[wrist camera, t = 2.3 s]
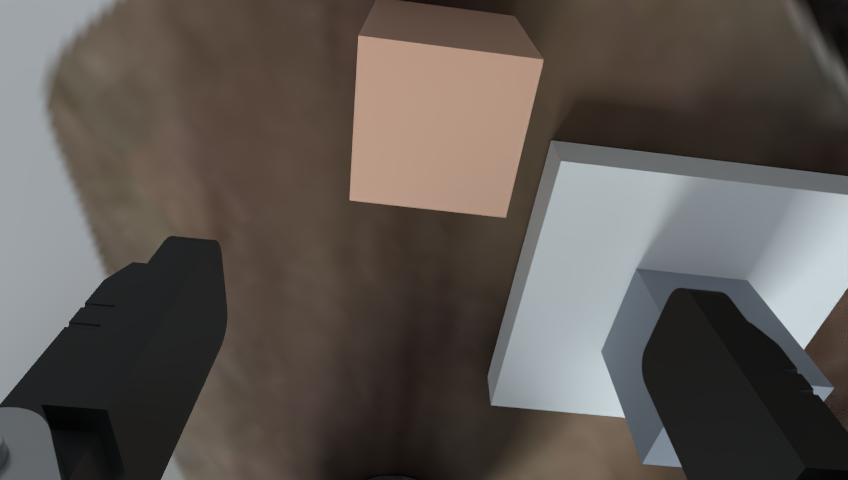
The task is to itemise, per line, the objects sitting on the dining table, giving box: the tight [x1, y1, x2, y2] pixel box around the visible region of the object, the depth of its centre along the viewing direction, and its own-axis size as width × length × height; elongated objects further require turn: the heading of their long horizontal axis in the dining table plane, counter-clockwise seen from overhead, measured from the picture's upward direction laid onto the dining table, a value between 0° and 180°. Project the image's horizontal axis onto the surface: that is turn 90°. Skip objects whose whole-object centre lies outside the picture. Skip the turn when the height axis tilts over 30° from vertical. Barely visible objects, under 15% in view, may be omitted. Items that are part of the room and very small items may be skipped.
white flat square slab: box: [487, 140, 848, 417], centre depth 25 cm, size 14×14×2 cm
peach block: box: [350, 0, 544, 218], centre depth 18 cm, size 5×5×6 cm
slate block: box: [601, 268, 834, 467], centre depth 22 cm, size 5×5×6 cm
